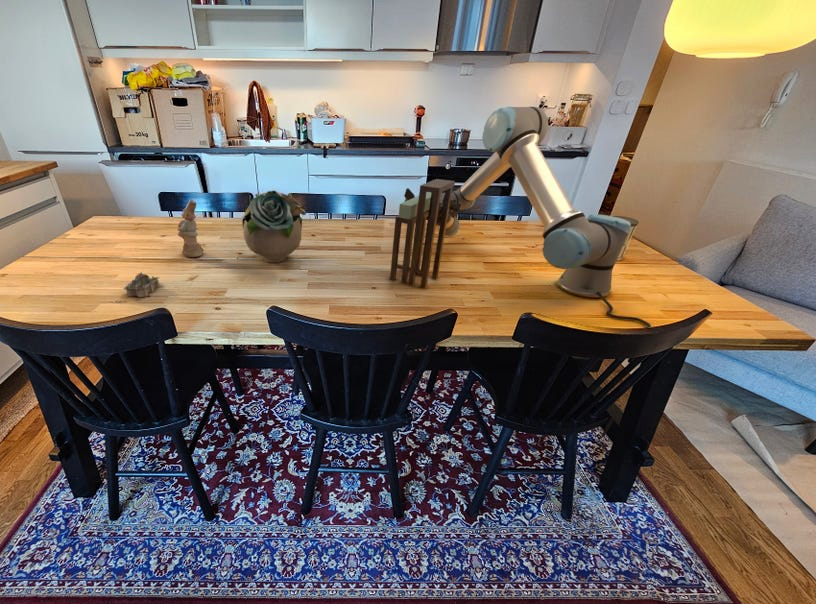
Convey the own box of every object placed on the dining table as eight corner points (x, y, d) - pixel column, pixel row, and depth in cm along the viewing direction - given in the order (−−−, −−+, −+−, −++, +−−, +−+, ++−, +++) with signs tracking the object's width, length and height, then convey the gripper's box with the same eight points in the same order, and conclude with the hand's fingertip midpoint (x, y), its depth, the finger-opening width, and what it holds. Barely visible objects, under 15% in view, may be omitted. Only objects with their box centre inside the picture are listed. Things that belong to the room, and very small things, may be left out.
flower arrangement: (319, 254, 154) (318, 188, 140) (281, 276, 137) (275, 202, 123) (269, 243, 165) (264, 180, 151) (227, 262, 147) (217, 193, 133)
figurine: (209, 252, 156) (199, 199, 144) (194, 259, 149) (183, 204, 138) (192, 249, 159) (181, 196, 147) (176, 256, 152) (164, 201, 141)
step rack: (405, 268, 144) (416, 176, 126) (439, 276, 138) (455, 181, 120) (389, 279, 135) (398, 182, 118) (424, 288, 129) (439, 188, 112)
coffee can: (588, 250, 160) (602, 215, 152) (615, 251, 160) (630, 216, 152) (599, 260, 152) (615, 222, 144) (628, 261, 151) (644, 223, 143)
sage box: (425, 204, 136) (426, 192, 134) (436, 206, 135) (437, 193, 132) (398, 217, 123) (399, 203, 121) (410, 219, 121) (411, 205, 119)
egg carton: (144, 282, 132) (141, 271, 129) (164, 285, 130) (161, 273, 128) (122, 296, 123) (118, 284, 121) (143, 299, 122) (140, 286, 119)
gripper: (470, 232, 142) (457, 212, 124) (408, 220, 154) (388, 201, 136) (478, 211, 141) (466, 188, 123) (414, 201, 153) (394, 179, 134)
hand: (425, 195), depth 129 cm, fingers open, 13 cm apart
